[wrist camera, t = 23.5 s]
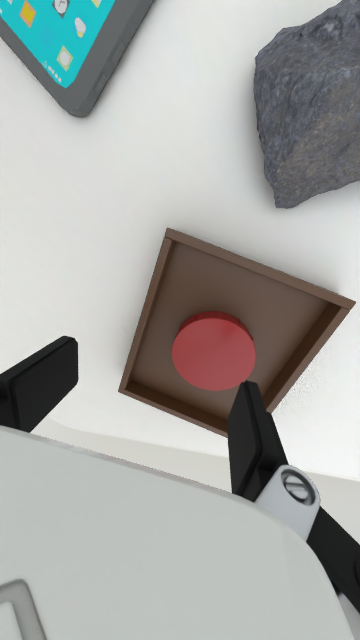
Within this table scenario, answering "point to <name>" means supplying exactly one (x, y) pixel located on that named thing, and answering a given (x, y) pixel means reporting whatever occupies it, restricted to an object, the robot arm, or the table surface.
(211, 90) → the table surface
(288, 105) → the rock
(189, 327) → the lid
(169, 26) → the table surface
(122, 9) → the smartphone
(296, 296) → the tray
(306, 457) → the table surface
